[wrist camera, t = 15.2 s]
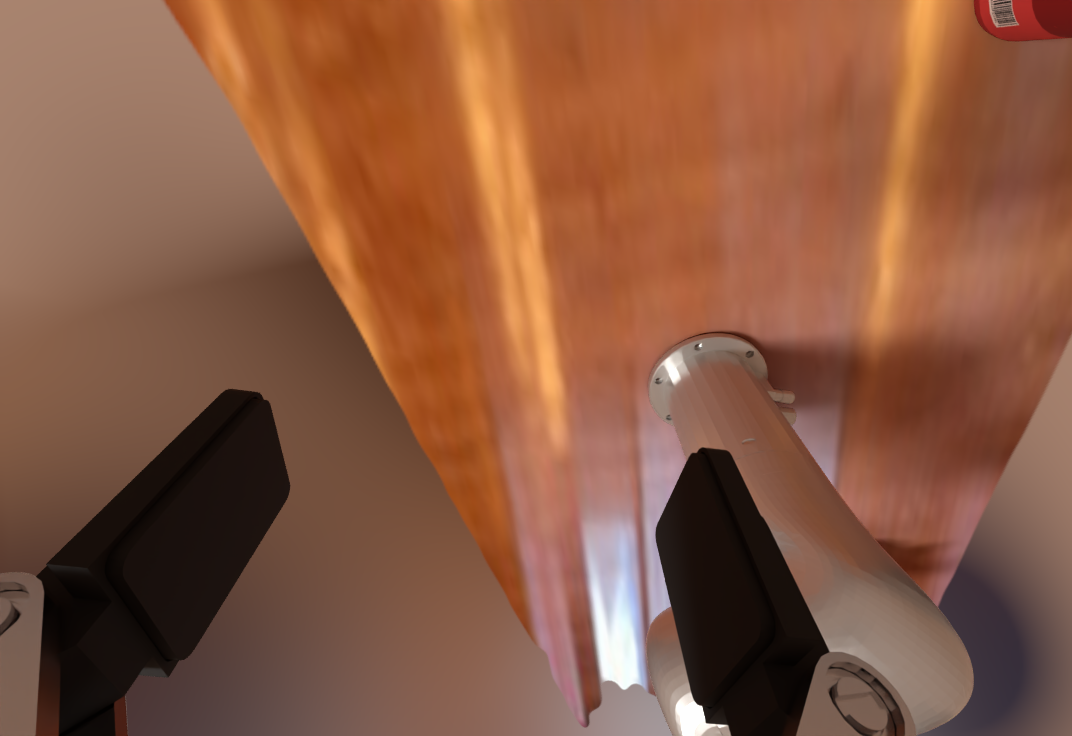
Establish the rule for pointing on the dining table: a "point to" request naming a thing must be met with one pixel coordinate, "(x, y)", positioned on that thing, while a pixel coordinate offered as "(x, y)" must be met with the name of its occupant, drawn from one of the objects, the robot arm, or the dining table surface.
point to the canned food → (1025, 18)
